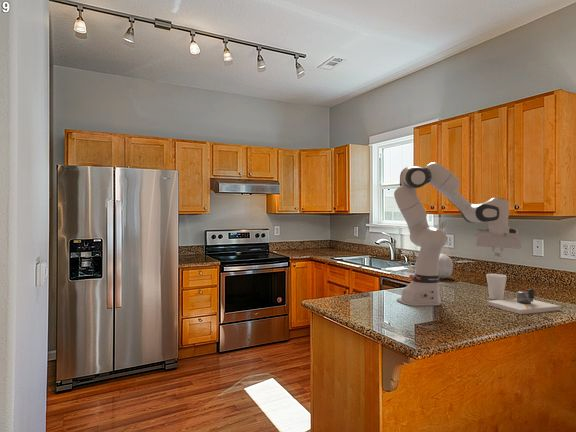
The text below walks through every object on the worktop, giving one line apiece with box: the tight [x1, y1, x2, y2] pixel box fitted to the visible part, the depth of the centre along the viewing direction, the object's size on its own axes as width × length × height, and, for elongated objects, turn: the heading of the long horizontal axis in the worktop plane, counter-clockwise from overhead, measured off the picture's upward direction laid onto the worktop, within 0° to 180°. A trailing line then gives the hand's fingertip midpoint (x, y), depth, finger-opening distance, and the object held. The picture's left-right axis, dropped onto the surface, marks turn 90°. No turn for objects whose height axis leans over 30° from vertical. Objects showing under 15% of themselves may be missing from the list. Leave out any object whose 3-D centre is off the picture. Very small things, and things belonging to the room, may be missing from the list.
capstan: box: [516, 288, 535, 304], centre depth 177 cm, size 16×6×9 cm, turn 160°
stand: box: [486, 298, 561, 315], centre depth 180 cm, size 26×18×2 cm
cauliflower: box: [414, 253, 454, 280], centre depth 265 cm, size 20×25×22 cm
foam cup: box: [486, 273, 507, 301], centre depth 198 cm, size 10×9×13 cm
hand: (497, 256), depth 186 cm, fingers closed
